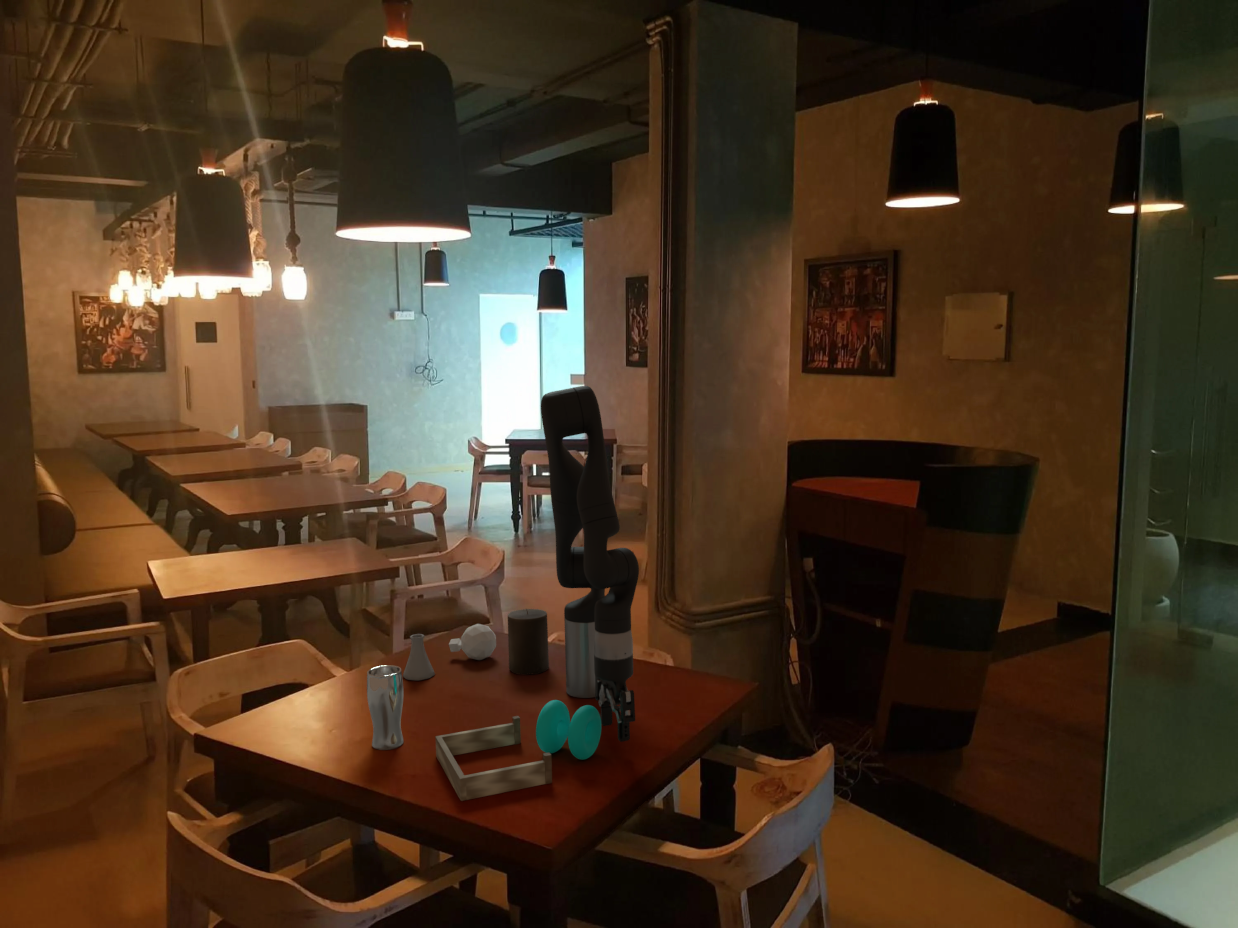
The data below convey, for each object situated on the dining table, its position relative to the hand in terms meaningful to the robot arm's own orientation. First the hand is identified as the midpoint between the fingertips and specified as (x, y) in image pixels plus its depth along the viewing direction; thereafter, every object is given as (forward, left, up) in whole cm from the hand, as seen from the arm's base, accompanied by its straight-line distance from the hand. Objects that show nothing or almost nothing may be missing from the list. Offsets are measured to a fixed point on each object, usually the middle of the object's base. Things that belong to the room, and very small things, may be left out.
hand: (615, 732), depth 183 cm
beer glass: (+40, -20, -3) cm, 45 cm away
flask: (+27, -57, -3) cm, 63 cm away
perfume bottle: (+11, -65, -3) cm, 66 cm away
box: (+25, 0, -3) cm, 26 cm away
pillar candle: (+1, -51, -3) cm, 51 cm away
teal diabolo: (+9, 0, -3) cm, 10 cm away
